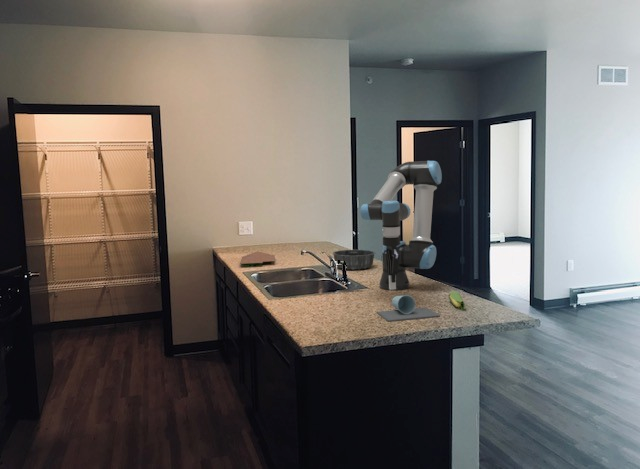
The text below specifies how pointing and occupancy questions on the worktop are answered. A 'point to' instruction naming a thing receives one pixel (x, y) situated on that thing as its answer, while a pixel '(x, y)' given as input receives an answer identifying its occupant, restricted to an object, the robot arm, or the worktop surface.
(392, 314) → the mat
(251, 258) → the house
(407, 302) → the cup
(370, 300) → the worktop surface
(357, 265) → the bundt pan
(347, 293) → the worktop surface
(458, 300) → the edible corn
